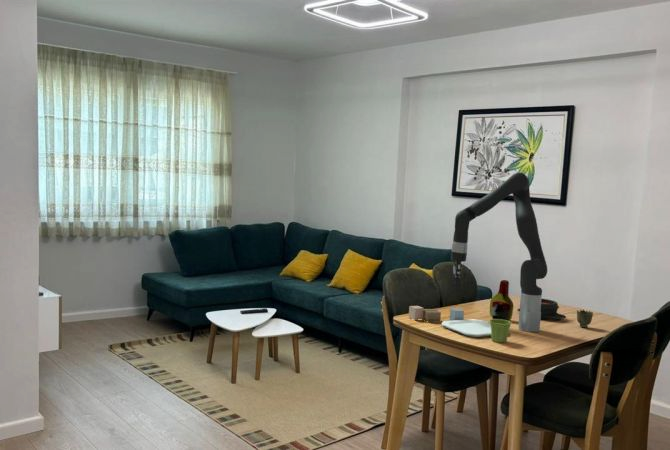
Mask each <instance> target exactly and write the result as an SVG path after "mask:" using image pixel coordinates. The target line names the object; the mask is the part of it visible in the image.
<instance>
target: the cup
mask: <svg viewBox="0 0 670 450" xmlns="http://www.w3.org/2000/svg"><path fill="white" fill-rule="evenodd" d="M593 316H594V312H593V311H590V310H584V309H580V310H576V319H577V322H578V324H579V327H580V328H582V329H587V328H588V327H589V325H590V324H591V323H592V320H593Z"/></svg>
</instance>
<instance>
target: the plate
mask: <svg viewBox="0 0 670 450" xmlns="http://www.w3.org/2000/svg"><path fill="white" fill-rule="evenodd" d="M441 326H443V327H444V328H446V329H449V330H451V331H453V332H456V333H459V334H461V335H463V336H466V337H473V338H483V337H492V335H491V325H490V322H488V321H486V320H482V319H473V318H469V319H468V318H467V319H464V320H453V321H450V320H444V321H442V322H441Z"/></svg>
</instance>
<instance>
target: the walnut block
mask: <svg viewBox="0 0 670 450" xmlns="http://www.w3.org/2000/svg"><path fill="white" fill-rule="evenodd" d="M441 317H442V312H441V311H440V310H438V309H436V308H424V313H423V319H424V320H425V321H426V322H425V321H424V320H423V321H424V322H425V323H441ZM427 321H428V322H427Z"/></svg>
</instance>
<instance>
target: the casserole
mask: <svg viewBox="0 0 670 450" xmlns="http://www.w3.org/2000/svg"><path fill="white" fill-rule="evenodd" d="M559 308H560V306H559V305H558V302H557V301H555V300H551V299H548V298H541V309H540V312H541V319H540V320H552V319H553V320H563V319H566V318H567V316H566V315H564V314H562V313H559V312H558V309H559ZM516 311H517V312H519V313H520V307H519V308H517V309H516Z"/></svg>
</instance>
